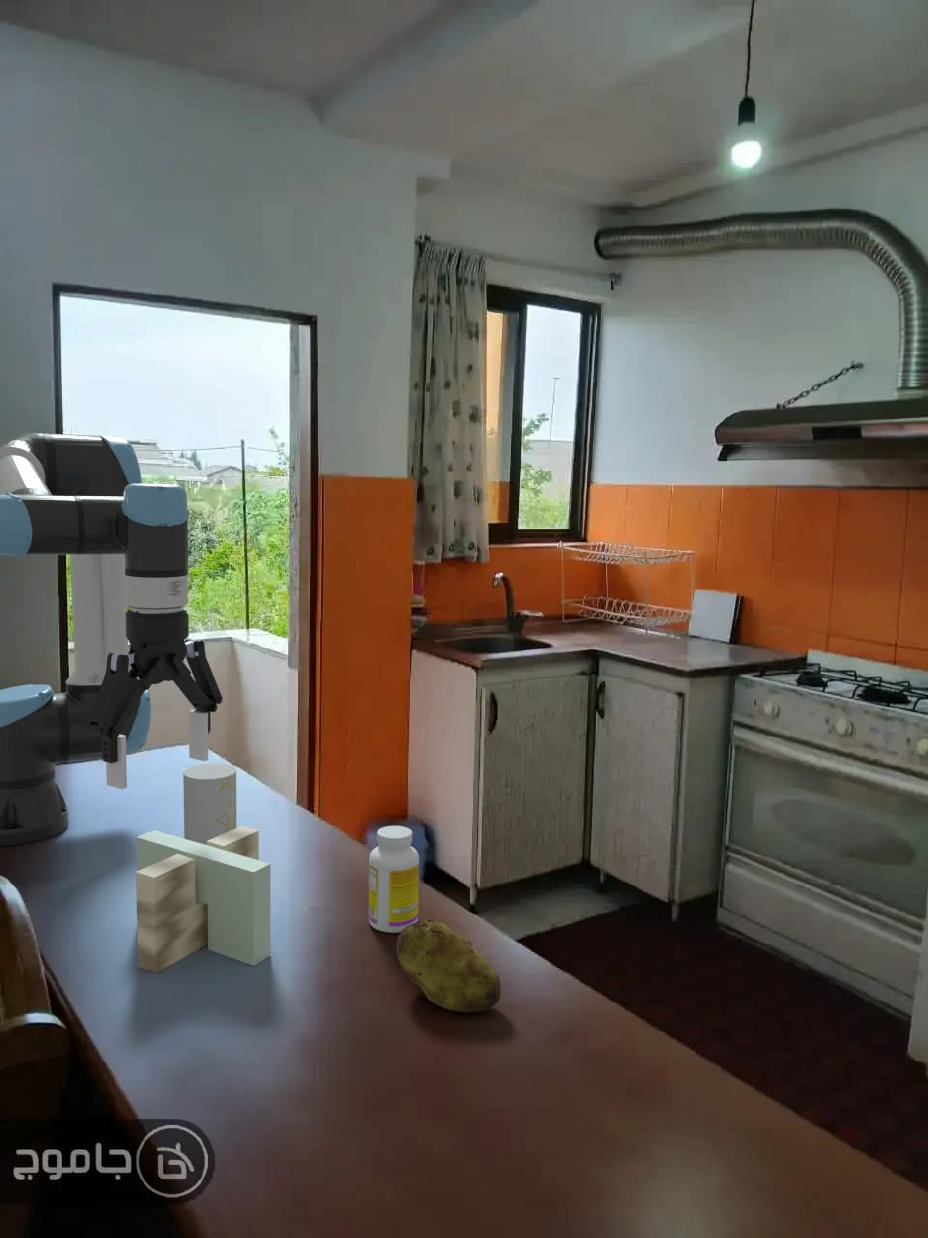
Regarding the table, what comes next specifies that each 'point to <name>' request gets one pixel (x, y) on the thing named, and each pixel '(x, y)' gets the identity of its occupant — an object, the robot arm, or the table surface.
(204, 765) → the grey cylinder
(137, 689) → the robot arm
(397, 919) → the supplement bottle
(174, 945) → the notched wooden block
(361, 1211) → the table surface
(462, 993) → the potato
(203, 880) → the sage slat
